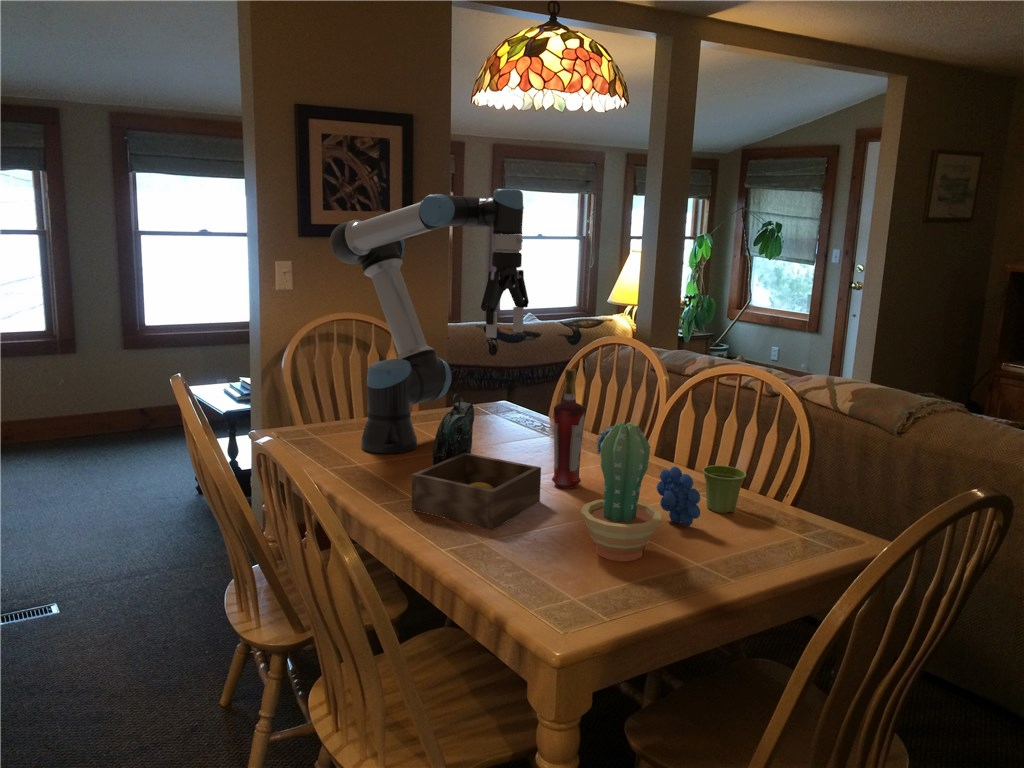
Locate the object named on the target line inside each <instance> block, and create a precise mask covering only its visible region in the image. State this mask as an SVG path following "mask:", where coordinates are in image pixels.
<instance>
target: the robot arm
mask: <svg viewBox="0 0 1024 768" xmlns="http://www.w3.org/2000/svg"><path fill="white" fill-rule="evenodd" d="M524 209H525V207H524V194H523V191H522V190H521V189H516V188H514V189H513V188H495V189H494V191H493V195H492V197H489V196H488V197H486V196H485V197H484V196H468V195H467V196H463V195H451V194H442V193H435V194H428V195H426V196H425V197H424V198H423V199H422V200H421V201H419V202H417V203H414V204H412V205H408V206H405V207H403V208H402V207H401V208H400V209H399V208H398V209H396V210H392V211H390V212H387V213H383V214H381V215H377V216H373V217H371V218H368V219H365V220H359V219H353V220H349V221H347V222H343V223H340V224H339V225H337V226H336V227H335V228H334V229H333V230H332V232H331V234H330V237H329V246H330V250H331V252H332V254H333V255H334V257H336V259H338V261H341V263H345V264H349V265H361V266H360V267H361V268H362V270H363V271H362V272H363V274H364V276H366V277H368V278H370V279H371V281H372V283H373V284H372V285H373V286H374V289H375V292H376V295H377V298H378V300H379V305H380V306H381V309H382V312H383V315H384V318H385V321H386V323H387V326H388V330H389V331H390V335H391V337H392V340H393V344H394V347H395V349H396V352H397V354H398V356H397V358H392V359H384V360H379V361H376V362H374V363H372V364H371V365H370V366H369V367H368V369H367V379H366V391H367V392H366V396H367V397H366V398H367V399H366V402H367V406H366V407H367V420H366V424H365V427H364V430H363V434H362V436H361V439H360V441H361V442H360V446H361V449H362V450H364V451H365V452H368V453H369V452H370V453H372V454H373V453H374V454H385V455H386V454H389V455H390V454H391V455H393V454H403V453H407V452H410V451H413V450H415V449H417V447H418V438H417V435H416V433H415V429H414V425H413V422H412V419H411V418H412V417H411V414H412V413H411V410H412V409H411V408H412V407H411V406H413V405H416V404H420V403H424V402H425V403H426V402H432V401H435V400H436V399H440V398H442V397H444V396H445V395H446V393H447V392H448V391H449V389H450V386H451V384H452V370H451V368H450V366H449V364H448V363H447V361H445V360H444V359H443V358H440V357H438V356H437V353H436V351H435V349H434V348H433V347H431V346H430V345H429V346H428V344H427V342H426V338H425V335H424V333H423V329H422V327H421V325H420V321H419V318H418V315H417V312H416V310H415V307H414V305H413V302H412V299H411V296H410V294H409V291H408V288H407V284H406V283H405V280H404V276H403V274H402V271H401V267H402V265H403V263H404V261H403V257H404V255H405V251H404V249H405V248H406V247H405V246H406V245H405V239H409V238H411V237H415V236H418V235H421V234H422V235H423V234H424V233H425V234H426V233H428V232H431V231H435V230H439V229H441V228H445V227H446V228H447V227H466V228H474V227H475V228H492V244H491V246H492V247H491V248H492V250H493V252H492V254H491V266H492V267H493V268H495V269H496V270H495V271H488V278H487V282H486V283H487V284H486V286H485V289H484V294H483V298H482V302H481V304H480V305H481V306H480V309H481V311H483V312H485V337H486V338H489V339H497V335H498V334H497V333H498V329H497V327H498V311H496V310H497V307H498V305H499V303H500V300H501V298H502V296H503V293H504V291H505V292H506V291H507V289H508V291H509V293H510V294H509V295H510V296H511V298H512V301H513V304H514V305H515V306H513V309H512V310H513V311H512V314H513V315H512V332H514V333H523V332H524V315H525V314H524V312H525V311H524V308H528V306H529V298H528V297H529V296H528V292H527V287H526V283H525V279H524V277H525V276H524V270H523V269H518V268H521V267H522V259H523V258H522V255H523V254H522V253H521V250H523V249H522V247H523V218H524Z"/></svg>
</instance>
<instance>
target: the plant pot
mask: <svg viewBox="0 0 1024 768" xmlns="http://www.w3.org/2000/svg"><path fill="white" fill-rule="evenodd" d="M702 472H703V476H704V479H705V489H706V491H705V492H706V494H705V495H706V507H707V509H709V510H711V511H713V512H714V513H721V514H727V513H733V512H735V511H736V508H737V503H738V499H739V496H740V491H741V486H742V484H743V482H744V479H745V478H746V477H747V473H746V471H744V470H742V469H740V468H738V467H734V466H728V465H719V464H715V465H707V466H705V467H703V468H702Z"/></svg>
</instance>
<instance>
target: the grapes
mask: <svg viewBox="0 0 1024 768" xmlns="http://www.w3.org/2000/svg"><path fill="white" fill-rule="evenodd" d="M659 476H660V477H659V478H660V480H661V481H658V482H657V485H656V491H657V493H658V494H659V496H661V499H660V501H659V504H660V508H661V509H662V510H664V511H665V512H669V513H668V516H669V519H670V521H672V522H673V523H674V524H680V523H681V524H682V525H683V526H685V527H691V526H692V525H693V523H694V520H695V519H696V520H697V519H699V517H700V516H701V509H700V507H699V506H698V504H699V503H700V502H701V494H700V492H699V491H698V490H697V489H696V488H693V486H694V480H693V478H692V477H691V475H689V474H687V473H683V472H682V470H681V469H680V468H679V467H678V466H672V467H671V468H670V469H669V470H668V469H663V470H662V471H660V475H659Z"/></svg>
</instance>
